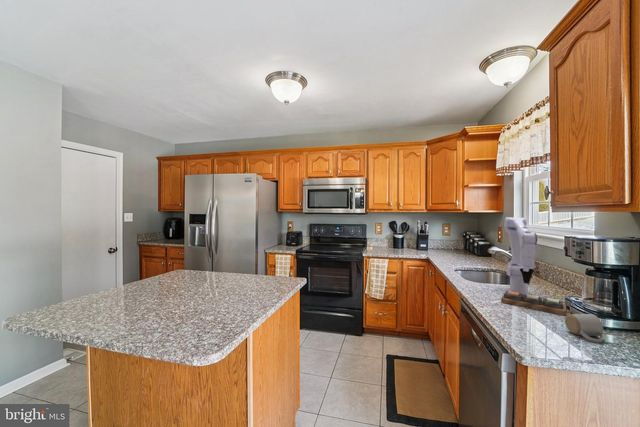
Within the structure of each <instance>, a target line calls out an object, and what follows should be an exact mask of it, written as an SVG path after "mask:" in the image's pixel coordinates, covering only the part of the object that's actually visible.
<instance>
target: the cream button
mask: <svg viewBox="0 0 640 427" xmlns="http://www.w3.org/2000/svg"><path fill="white" fill-rule="evenodd" d="M539 297H540V296H539V295H533V294H527V298H531V299H537V300H539Z"/></svg>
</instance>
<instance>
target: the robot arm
mask: <svg viewBox="0 0 640 427" xmlns="http://www.w3.org/2000/svg"><path fill="white" fill-rule="evenodd" d="M503 224H504V225H503V226H504V232H505V233H507V234H508V237H509V244H510V253H511V260H510V261H509V262H507V264H506V274H507V276H508V277H509V291H512V292H518V293H521V294H523V295H524V294H525V295H527V294H529V295H531V294H530V292H529V284H530V282H531V278H532V275H533V274H534V272H535V260H536V258H535V257H536V245H537V244H538V234H537V233H535V232H532V230H530V228H529V227H528V226H527V219H526V218H525V217H514V216H512V217H511V216H510V217H508V216H506V217H505V218H504V222H503Z"/></svg>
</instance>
